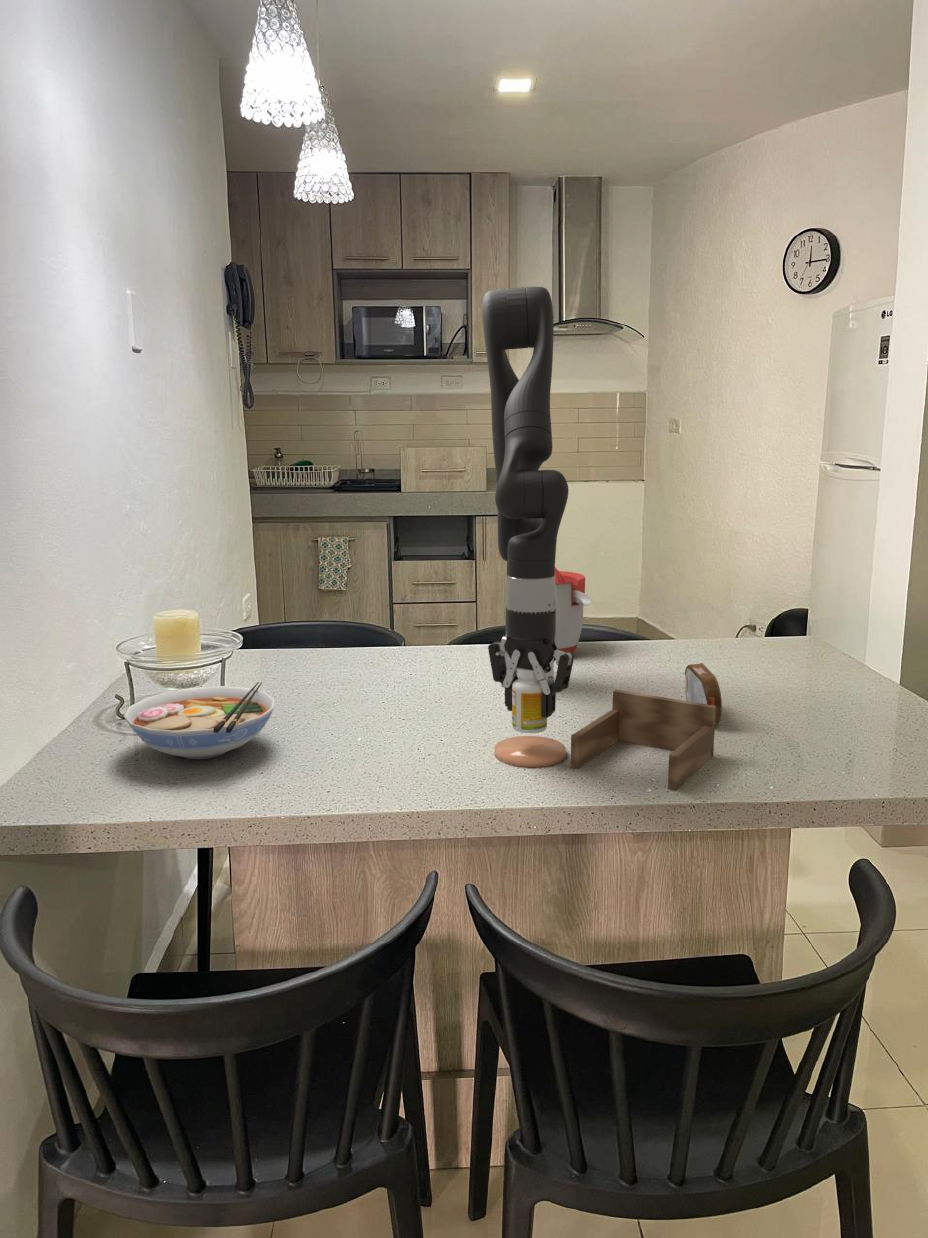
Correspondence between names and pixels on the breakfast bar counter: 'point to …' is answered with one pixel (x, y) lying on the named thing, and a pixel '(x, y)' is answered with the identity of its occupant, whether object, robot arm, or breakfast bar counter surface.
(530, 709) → the supplement bottle
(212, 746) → the ramen bowl
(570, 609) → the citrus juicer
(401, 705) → the breakfast bar counter surface
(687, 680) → the tin
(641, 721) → the cubby
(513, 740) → the coaster
